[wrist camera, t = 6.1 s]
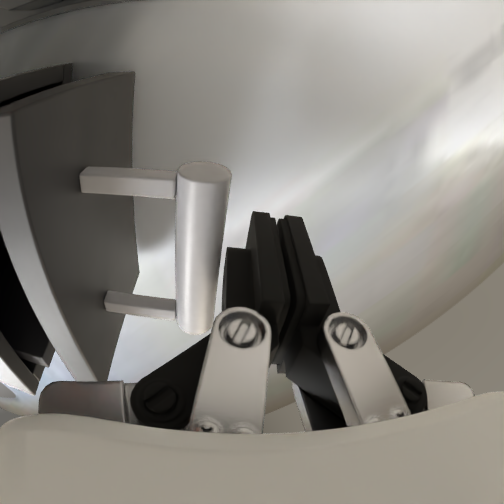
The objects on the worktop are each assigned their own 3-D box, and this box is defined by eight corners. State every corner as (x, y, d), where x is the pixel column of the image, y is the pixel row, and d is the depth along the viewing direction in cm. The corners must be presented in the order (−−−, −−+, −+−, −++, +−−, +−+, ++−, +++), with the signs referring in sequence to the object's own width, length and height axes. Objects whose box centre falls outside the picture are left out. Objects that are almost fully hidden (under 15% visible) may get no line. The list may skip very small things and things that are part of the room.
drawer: (243, 77, 10) (248, 109, 4) (215, 281, 16) (207, 409, 10) (-47, 105, 7) (-136, 163, 2) (-14, 249, 14) (-66, 327, 8)
